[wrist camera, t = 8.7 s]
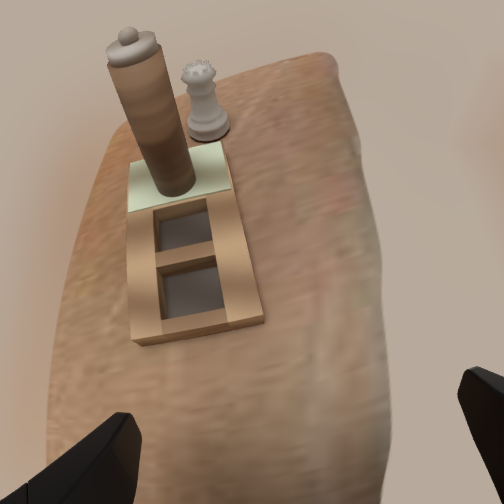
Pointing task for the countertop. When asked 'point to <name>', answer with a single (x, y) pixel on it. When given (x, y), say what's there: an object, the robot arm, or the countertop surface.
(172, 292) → the board
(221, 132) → the rook chess piece
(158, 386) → the countertop surface
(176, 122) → the pepper mill
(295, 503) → the countertop surface
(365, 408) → the countertop surface
